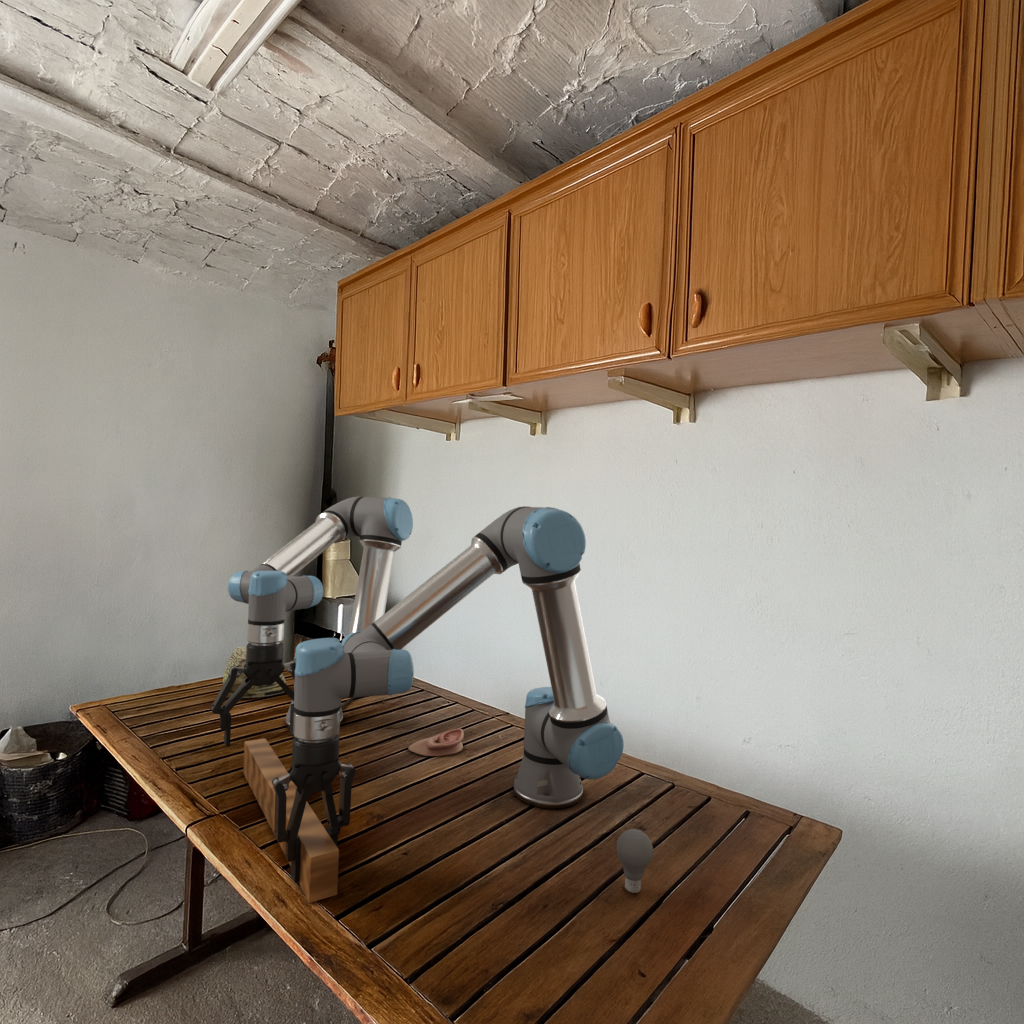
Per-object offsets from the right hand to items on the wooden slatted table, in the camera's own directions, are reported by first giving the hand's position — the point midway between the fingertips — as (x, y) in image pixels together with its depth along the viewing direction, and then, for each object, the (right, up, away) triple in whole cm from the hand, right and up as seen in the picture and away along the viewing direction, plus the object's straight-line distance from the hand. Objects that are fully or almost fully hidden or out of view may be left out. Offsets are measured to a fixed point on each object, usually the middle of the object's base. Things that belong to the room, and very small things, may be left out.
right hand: (311, 873), depth 106 cm
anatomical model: (+14, 0, +56) cm, 58 cm away
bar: (-11, 0, +16) cm, 20 cm away
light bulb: (+54, -3, 0) cm, 54 cm away
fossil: (-47, +3, +92) cm, 103 cm away
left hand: (-21, +11, +32) cm, 40 cm away
